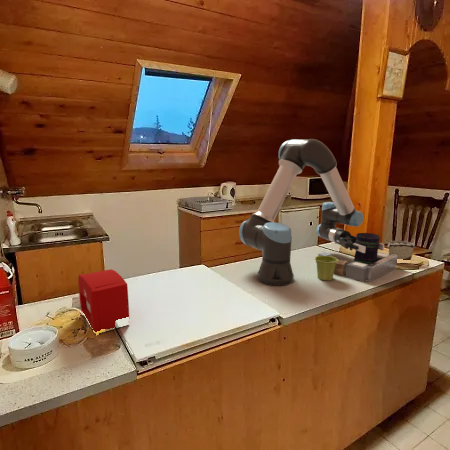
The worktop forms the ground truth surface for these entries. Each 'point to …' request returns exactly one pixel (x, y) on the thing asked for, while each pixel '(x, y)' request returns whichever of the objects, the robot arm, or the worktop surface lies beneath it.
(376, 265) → the rail
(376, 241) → the rusty oil drum
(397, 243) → the food container
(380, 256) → the block
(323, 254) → the bluegrey block
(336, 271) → the walnut block
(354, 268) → the module block
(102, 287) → the fire alarm
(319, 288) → the worktop surface
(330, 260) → the plant pot
